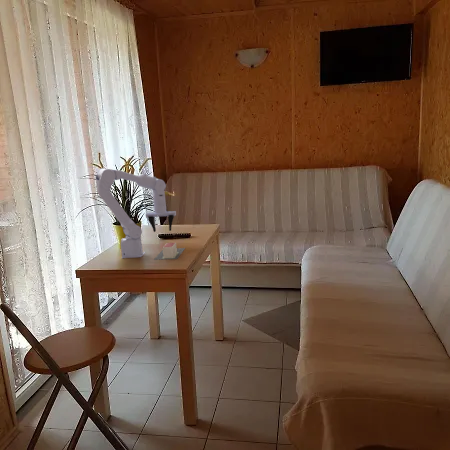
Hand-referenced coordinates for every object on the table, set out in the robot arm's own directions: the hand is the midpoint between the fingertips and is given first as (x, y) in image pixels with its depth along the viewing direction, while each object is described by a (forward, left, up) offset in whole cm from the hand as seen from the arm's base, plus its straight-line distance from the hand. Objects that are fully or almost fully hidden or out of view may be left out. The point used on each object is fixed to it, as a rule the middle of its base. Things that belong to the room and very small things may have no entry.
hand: (162, 231), depth 217 cm
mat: (+5, -9, -9) cm, 14 cm away
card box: (+6, -12, -9) cm, 16 cm away
